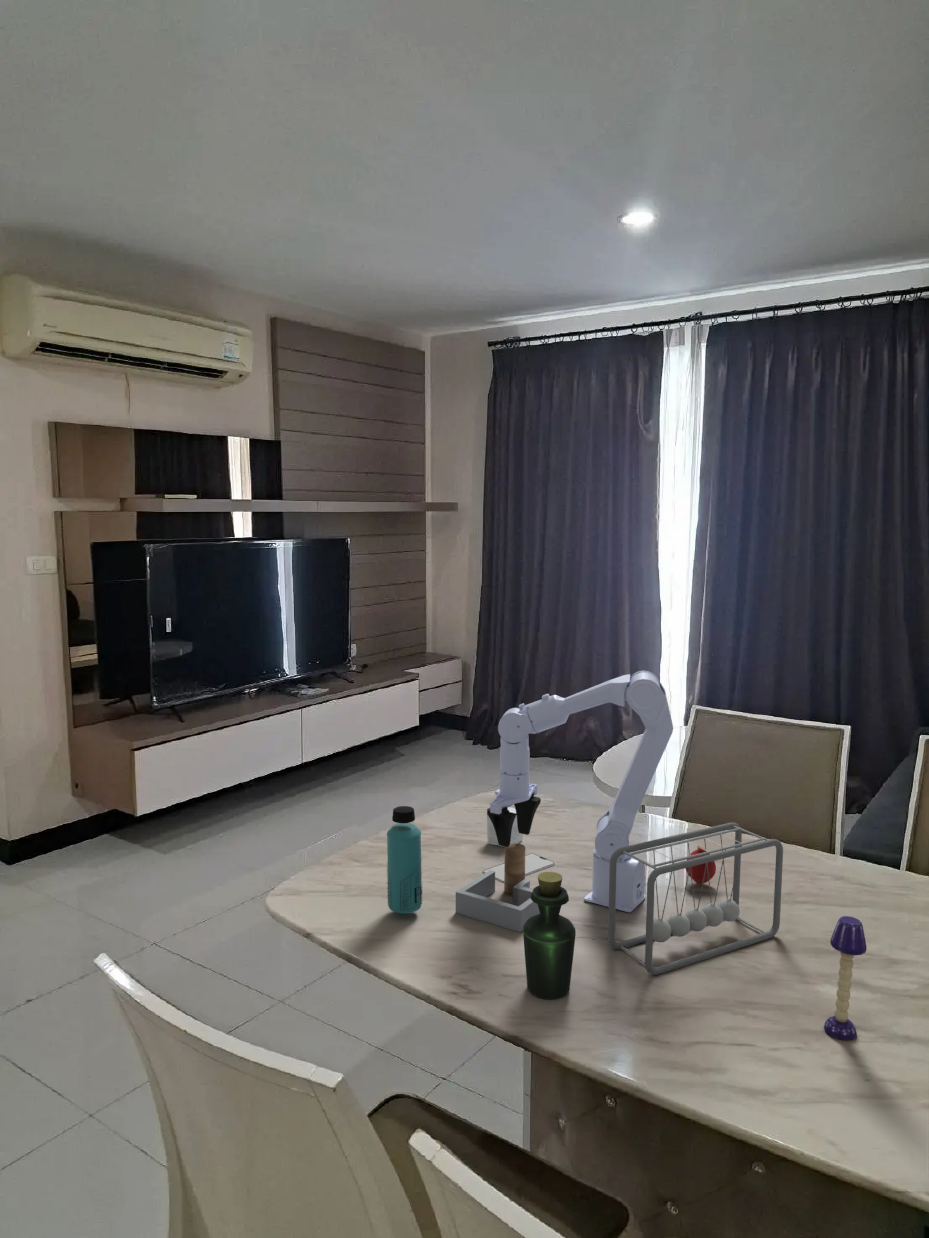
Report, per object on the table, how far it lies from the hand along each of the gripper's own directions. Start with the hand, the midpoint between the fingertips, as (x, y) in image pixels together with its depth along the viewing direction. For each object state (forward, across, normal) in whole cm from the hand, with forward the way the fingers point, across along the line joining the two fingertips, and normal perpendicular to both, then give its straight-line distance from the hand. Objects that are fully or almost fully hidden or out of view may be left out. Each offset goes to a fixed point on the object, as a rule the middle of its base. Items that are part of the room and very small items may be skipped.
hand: (514, 839), depth 166 cm
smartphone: (+11, -10, -5) cm, 16 cm away
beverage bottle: (+10, +20, -12) cm, 25 cm away
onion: (+11, -23, +29) cm, 39 cm away
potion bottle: (+11, +28, +23) cm, 37 cm away
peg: (+10, 0, 0) cm, 10 cm away
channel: (+10, +8, +3) cm, 14 cm away
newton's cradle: (+11, +1, +36) cm, 38 cm away
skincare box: (+11, -21, -15) cm, 28 cm away
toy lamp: (+11, +14, +62) cm, 65 cm away
